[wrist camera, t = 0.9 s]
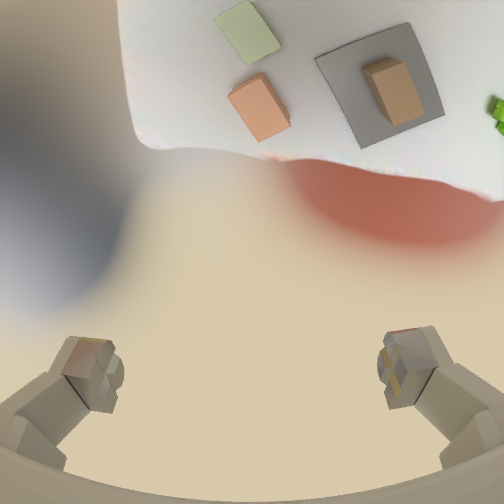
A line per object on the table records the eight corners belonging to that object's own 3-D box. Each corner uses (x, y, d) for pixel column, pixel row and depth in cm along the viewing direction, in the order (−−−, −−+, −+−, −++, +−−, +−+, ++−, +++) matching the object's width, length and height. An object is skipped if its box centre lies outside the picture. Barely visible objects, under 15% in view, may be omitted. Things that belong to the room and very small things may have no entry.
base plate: (406, 22, 28) (425, 24, 23) (442, 112, 35) (461, 127, 31) (314, 59, 33) (320, 64, 29) (359, 146, 41) (370, 164, 36)
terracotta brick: (262, 72, 35) (260, 78, 32) (289, 115, 39) (290, 126, 35) (233, 88, 37) (227, 96, 33) (260, 130, 41) (258, 142, 37)
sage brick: (251, 2, 29) (247, -1, 25) (281, 45, 33) (281, 47, 29) (221, 20, 31) (213, 19, 27) (250, 61, 34) (247, 66, 31)
